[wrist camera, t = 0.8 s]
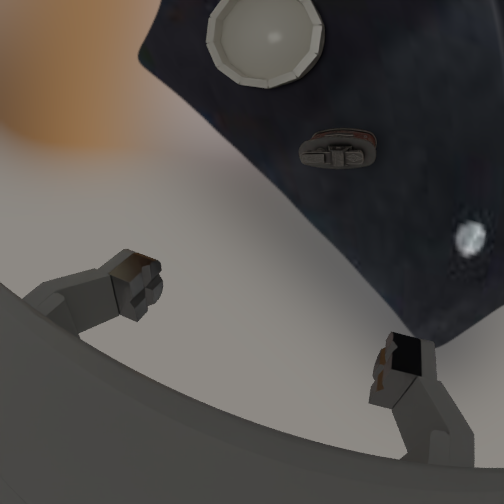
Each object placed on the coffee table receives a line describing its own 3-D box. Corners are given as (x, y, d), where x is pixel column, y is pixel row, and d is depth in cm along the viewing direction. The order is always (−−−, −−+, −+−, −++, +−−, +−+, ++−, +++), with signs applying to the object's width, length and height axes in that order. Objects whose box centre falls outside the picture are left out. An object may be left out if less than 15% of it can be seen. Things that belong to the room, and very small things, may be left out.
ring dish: (297, -28, 27) (291, -35, 24) (342, 66, 32) (339, 64, 29) (203, 15, 33) (192, 12, 31) (241, 101, 38) (231, 103, 36)
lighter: (375, 127, 34) (375, 141, 26) (377, 154, 36) (376, 176, 28) (311, 128, 37) (290, 142, 29) (314, 154, 39) (294, 175, 31)
